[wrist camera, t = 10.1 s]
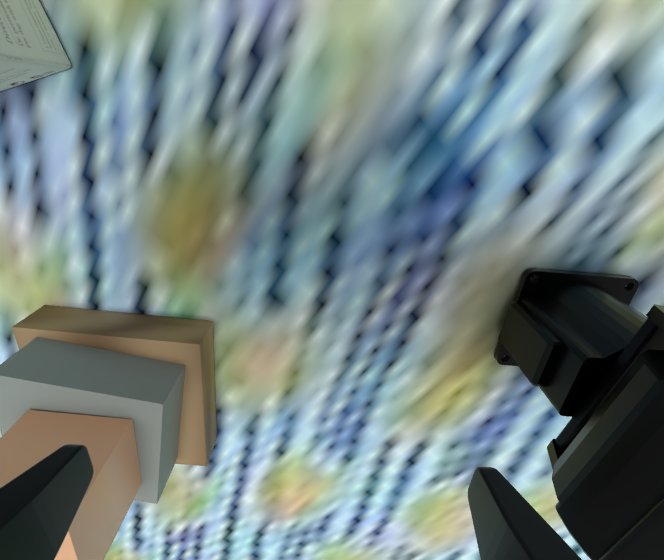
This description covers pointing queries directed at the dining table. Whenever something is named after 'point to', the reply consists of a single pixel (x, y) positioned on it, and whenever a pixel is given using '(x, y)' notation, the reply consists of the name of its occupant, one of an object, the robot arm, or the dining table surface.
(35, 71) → the supplement box
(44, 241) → the dining table surface
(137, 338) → the walnut slab
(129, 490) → the terracotta cube
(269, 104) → the dining table surface
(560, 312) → the robot arm
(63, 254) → the dining table surface
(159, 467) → the grey square block
